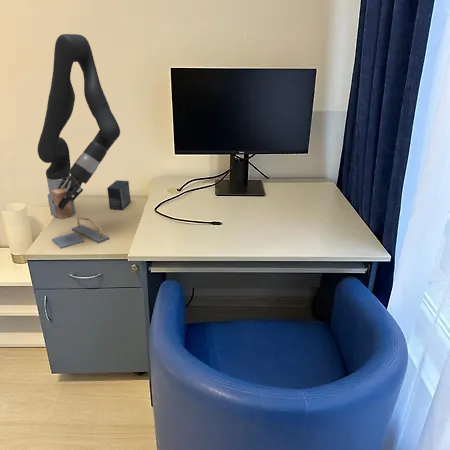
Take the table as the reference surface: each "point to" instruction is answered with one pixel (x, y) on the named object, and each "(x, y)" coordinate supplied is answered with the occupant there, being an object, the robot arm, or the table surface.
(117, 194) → the small box
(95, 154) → the robot arm
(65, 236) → the mat
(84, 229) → the board with wooden handle
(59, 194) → the block
